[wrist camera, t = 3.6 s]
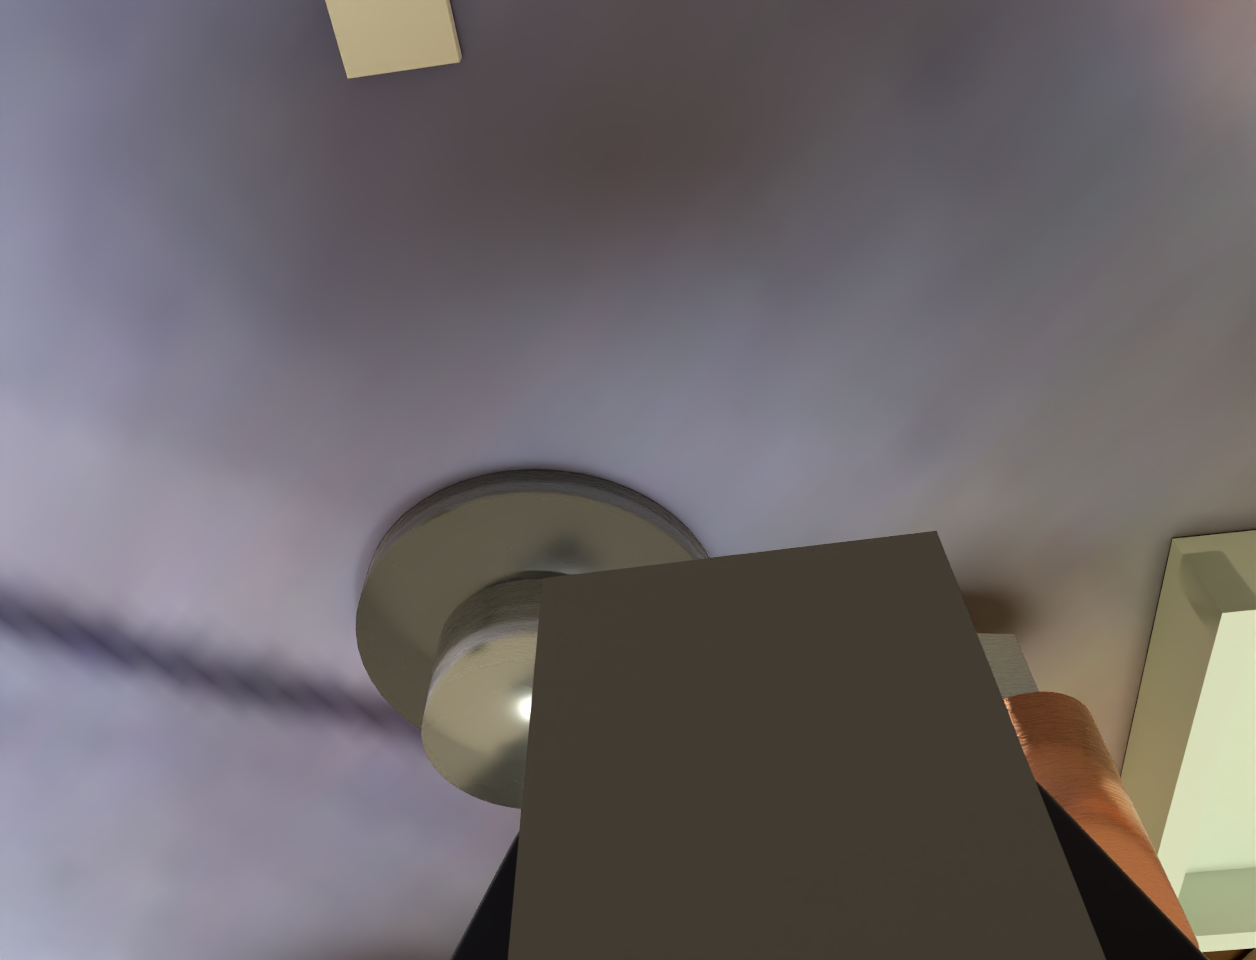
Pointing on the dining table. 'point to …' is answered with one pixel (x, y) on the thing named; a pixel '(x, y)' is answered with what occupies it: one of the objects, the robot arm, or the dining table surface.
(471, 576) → the hub plate
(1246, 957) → the bread roll
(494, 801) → the crank
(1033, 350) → the dining table surface
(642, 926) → the dark gray rectangular block
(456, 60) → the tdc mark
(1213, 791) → the tray
